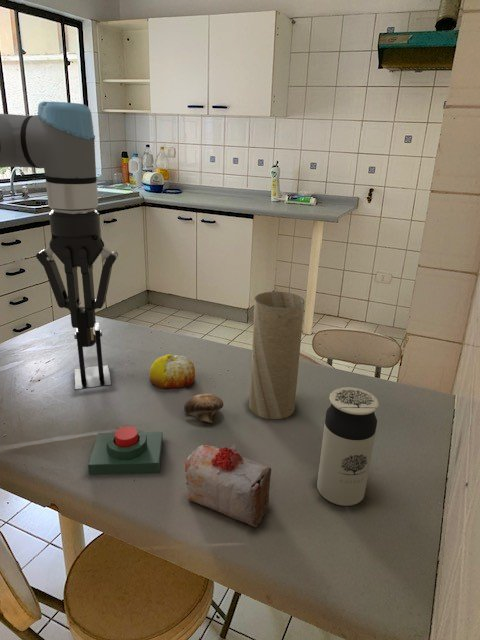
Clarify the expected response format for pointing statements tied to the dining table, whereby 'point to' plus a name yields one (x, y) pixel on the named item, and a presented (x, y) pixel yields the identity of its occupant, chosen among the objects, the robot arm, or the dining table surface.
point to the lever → (92, 338)
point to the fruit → (172, 372)
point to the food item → (228, 483)
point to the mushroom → (203, 406)
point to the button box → (126, 454)
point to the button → (126, 436)
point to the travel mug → (347, 445)
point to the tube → (275, 353)
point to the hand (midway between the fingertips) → (85, 343)
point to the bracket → (91, 375)
